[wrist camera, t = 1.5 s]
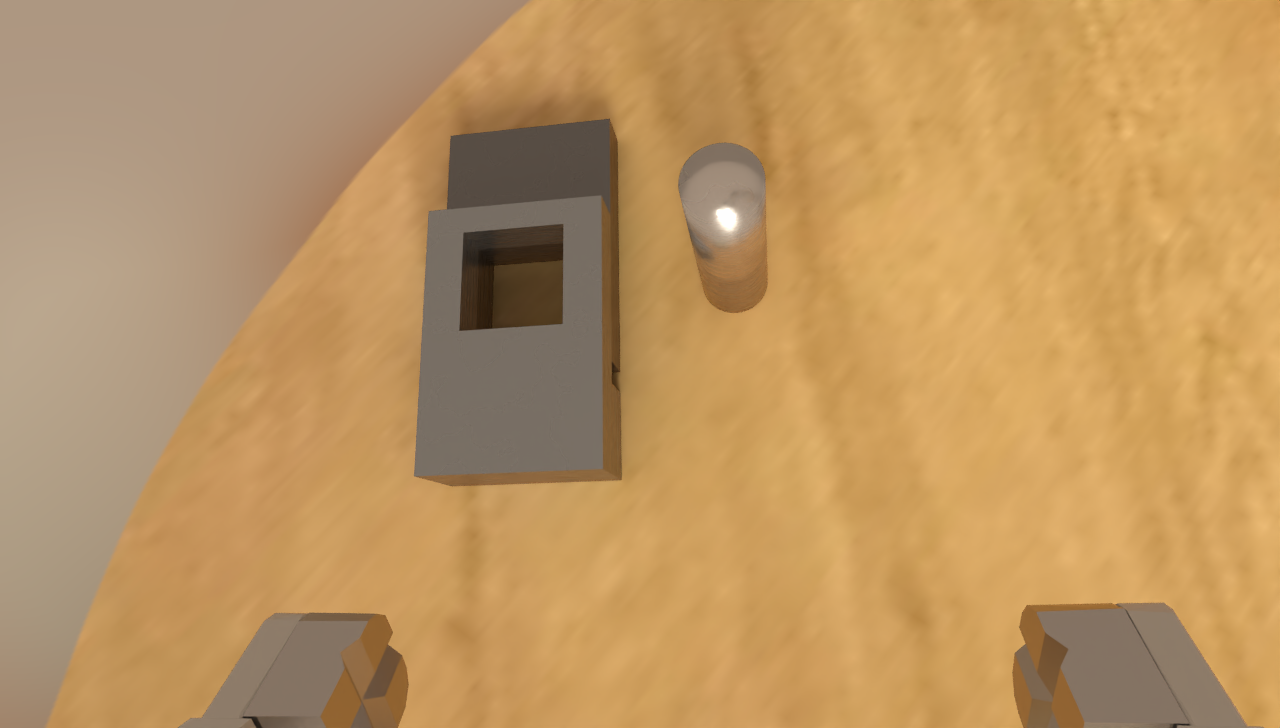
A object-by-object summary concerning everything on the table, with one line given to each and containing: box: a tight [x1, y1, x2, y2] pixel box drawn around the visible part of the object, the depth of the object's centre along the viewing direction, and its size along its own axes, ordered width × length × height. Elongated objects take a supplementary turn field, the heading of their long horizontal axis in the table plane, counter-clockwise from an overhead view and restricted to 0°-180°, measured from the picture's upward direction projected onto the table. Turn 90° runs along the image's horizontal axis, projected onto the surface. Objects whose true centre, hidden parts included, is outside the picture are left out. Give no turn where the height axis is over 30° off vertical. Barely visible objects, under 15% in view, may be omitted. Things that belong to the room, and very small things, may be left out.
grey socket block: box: [414, 119, 621, 486], centre depth 36 cm, size 8×17×4 cm, turn 1°
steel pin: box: [678, 143, 767, 313], centre depth 32 cm, size 3×3×10 cm
